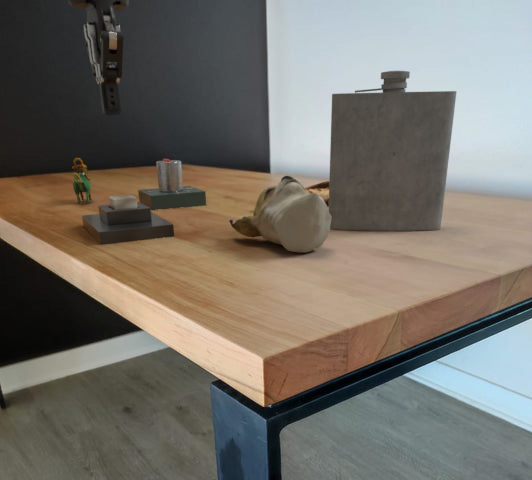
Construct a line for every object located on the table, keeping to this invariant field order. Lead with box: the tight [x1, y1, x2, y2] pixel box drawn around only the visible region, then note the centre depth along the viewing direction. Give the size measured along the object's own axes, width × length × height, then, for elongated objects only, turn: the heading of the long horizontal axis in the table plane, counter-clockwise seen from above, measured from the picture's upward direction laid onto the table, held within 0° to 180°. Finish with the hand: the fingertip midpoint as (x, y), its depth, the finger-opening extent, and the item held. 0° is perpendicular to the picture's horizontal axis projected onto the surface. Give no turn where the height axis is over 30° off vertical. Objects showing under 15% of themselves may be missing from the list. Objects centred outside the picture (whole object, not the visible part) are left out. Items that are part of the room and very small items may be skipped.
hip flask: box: [328, 70, 457, 232], centre depth 74 cm, size 16×4×20 cm, turn 83°
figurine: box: [71, 157, 94, 204], centre depth 102 cm, size 3×12×8 cm, turn 7°
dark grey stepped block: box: [81, 201, 175, 246], centre depth 78 cm, size 10×14×4 cm
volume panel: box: [137, 185, 207, 211], centre depth 100 cm, size 10×9×3 cm
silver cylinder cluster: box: [155, 158, 184, 192], centre depth 98 cm, size 4×4×5 cm
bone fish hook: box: [304, 180, 329, 206], centre depth 96 cm, size 9×5×18 cm
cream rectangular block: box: [108, 194, 138, 210], centre depth 77 cm, size 3×3×2 cm
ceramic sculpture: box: [228, 175, 331, 254], centre depth 68 cm, size 11×9×15 cm
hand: (112, 114), depth 74 cm, fingers closed
